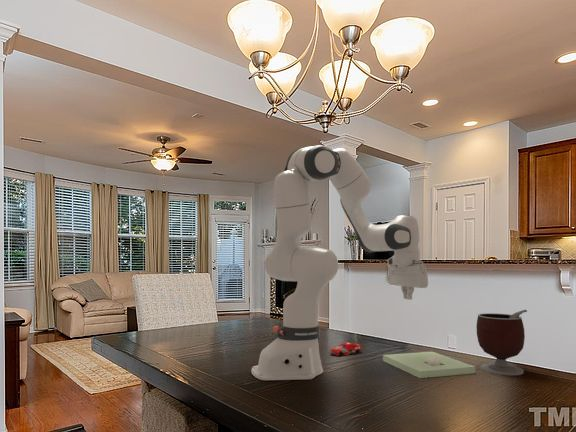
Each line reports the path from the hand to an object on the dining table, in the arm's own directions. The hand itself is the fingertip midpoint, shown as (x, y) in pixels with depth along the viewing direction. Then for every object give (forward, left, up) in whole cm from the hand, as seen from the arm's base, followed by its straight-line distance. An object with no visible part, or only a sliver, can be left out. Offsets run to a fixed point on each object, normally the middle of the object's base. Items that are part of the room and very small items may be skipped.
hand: (407, 299), depth 151 cm
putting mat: (0, -10, -21) cm, 23 cm away
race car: (-17, +15, -22) cm, 32 cm away
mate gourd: (+21, -21, -21) cm, 37 cm away
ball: (0, -14, -19) cm, 24 cm away
